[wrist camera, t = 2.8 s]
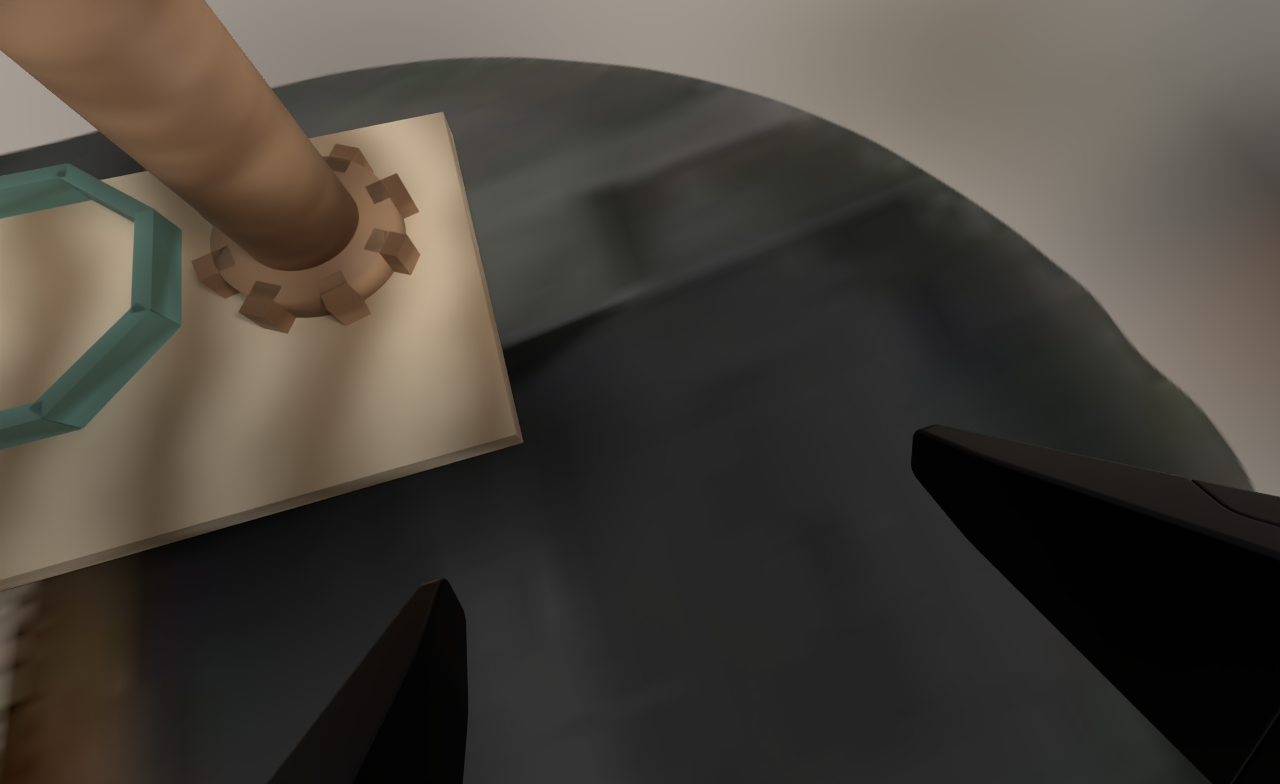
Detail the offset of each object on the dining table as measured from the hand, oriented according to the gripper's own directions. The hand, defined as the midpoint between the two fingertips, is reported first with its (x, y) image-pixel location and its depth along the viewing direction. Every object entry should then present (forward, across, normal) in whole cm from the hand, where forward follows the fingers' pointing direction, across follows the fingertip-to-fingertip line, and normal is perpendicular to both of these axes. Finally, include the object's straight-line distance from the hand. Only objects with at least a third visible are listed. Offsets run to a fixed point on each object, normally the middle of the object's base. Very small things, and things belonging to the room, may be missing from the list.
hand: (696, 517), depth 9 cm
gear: (+20, +12, -5) cm, 24 cm away
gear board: (+20, +18, -2) cm, 27 cm away
